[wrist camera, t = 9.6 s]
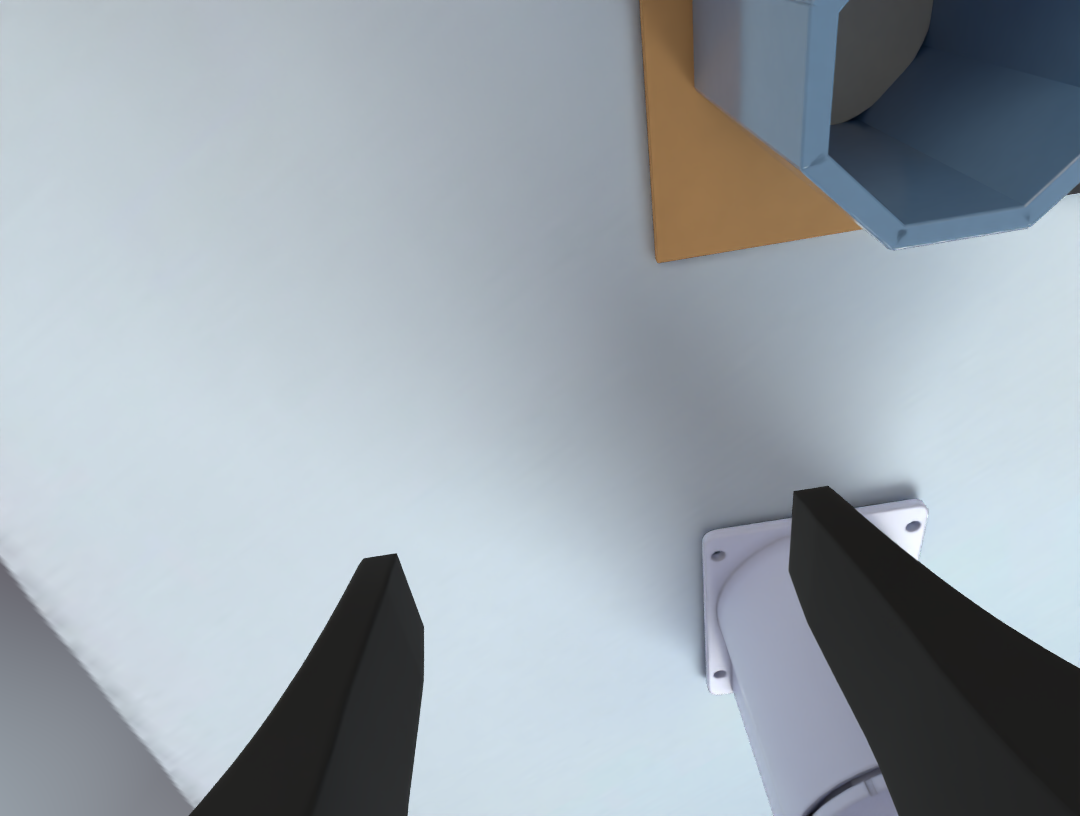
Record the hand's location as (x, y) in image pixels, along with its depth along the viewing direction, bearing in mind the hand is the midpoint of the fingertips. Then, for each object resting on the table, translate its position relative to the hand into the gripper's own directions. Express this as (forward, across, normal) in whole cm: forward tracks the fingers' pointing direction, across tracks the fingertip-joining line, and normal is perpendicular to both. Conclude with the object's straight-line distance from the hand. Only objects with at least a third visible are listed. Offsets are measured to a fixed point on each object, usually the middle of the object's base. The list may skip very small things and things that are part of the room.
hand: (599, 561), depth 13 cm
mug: (+9, -7, -8) cm, 14 cm away
